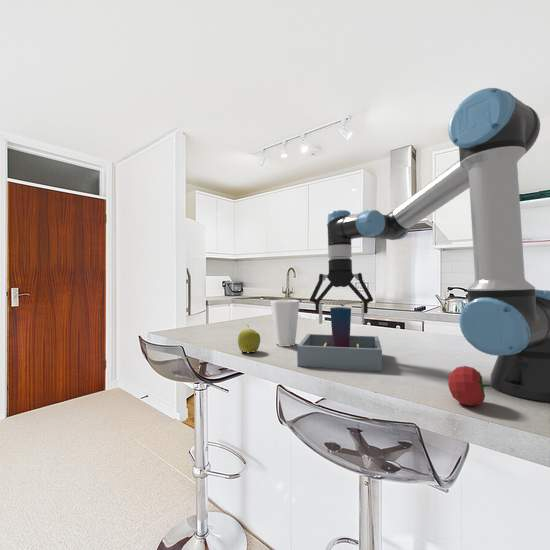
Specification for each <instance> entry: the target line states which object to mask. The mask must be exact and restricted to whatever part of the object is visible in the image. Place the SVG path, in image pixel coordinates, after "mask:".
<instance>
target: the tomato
mask: <svg viewBox="0 0 550 550" xmlns="http://www.w3.org/2000/svg"><path fill="white" fill-rule="evenodd" d="M448 375H449V376H448V380H447V385H448V389H449V392H450V393H451V395H452V398H453V399H455V400H456V401H457V402H459V403H460V404H462V405H463V406H469V407H475V406H479V405H481V404H482V403H483V402H484V401H485V397H486V393H485V388H486V387H492V385H491V384H484V383H483V376H482V374H481V372H480V371H478V370H477V369H475V368H474V367H472V366H468V365H462V366H458V367H456V368H455V369H453V370H452V371H451V372H450V373H449V374H448Z"/></svg>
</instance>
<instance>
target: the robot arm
mask: <svg viewBox="0 0 550 550" xmlns="http://www.w3.org/2000/svg"><path fill="white" fill-rule="evenodd" d="M447 128H448V129H447V131H448V137H449V139H450V141H451V142H452V144H453V145H455V146H456V147H457V148H458V151H459V153H458V154H459V160H457V161H456V162H455V163H453V164H452V165H450V167H448V168H447V169H445V170H444V171H443V172H442V173H440V174H439V175H438V176H436V177H435V178H434V179H432V180H431V181H430V182H429V183H427V184H426V185H425V186H423V187H422V188H421V189H420V190H418V191H417V192H415V193H414V194H413V195H411V197H409V198H408V199H407V200H405V201H404V202H403V203H401V204H400V205H399V206H398V207H396V208H395V209H393V210H392V211H390V212H389V213H387V214H383V213H381V212H380V211H379V210H377V209H372V210H364V211H362V212H358V213H357V212H356V213H353V214H351V212H350V211H349V210H343V209H342V210H333V211H330V212H329V213H328V215H327V224H326V226H327V253H328V254H327V255H328V258H329V260H328V274H324V273H319V274H318V281H317V283H316V285H315V288H314V290H313V292H312V293H311V297H310V298H309V301H310V303H311V302H312V303H314V305H315V313H316V314H318V324H320V325H321V324H322V323H323V304H322V302H321V301H322V300H323V298H324V297H325V296H326V295H328V292H329V291H330V290H331V289H332V288H333V287H335V288H346V287H349V288H350V290H352V291H353V292H354V294H355V295H356V296H357V297H358V298H359V299H360V300H361V301H362V303H360V305H361V307H360V308H361V325H365V314H368V313H369V312H368V311H369V309H368V304H369V303H371V302H373V301H374V298H373V295H372V294H371V293H370V291H369V289H368V287H367V285H366V283H365V282H364V280H363V274H362V272H359V273H353V263H352V262H353V260H352V259H351V258H352V253H353V252H352V240H353V239H361V238H363V239H365V238H368V239H381V240H390V241H395V240H402V239H404V238H405V237H406V236H407V234H408V233H409V231H410V228H412V227H413V226H414V225H416V224H418V223H419V222H421V221H422V220H424V219H425V218H426V217H429V216H430V215H431V214H433V213H434V212H436V211H437V210H438V209H440V208H442V207H443V206H444V205H446V204H447V203H449V202H450V201H452V200H454V199H455V198H456V197H458V196H459V195H461V194H463V193H464V192H465V191H467V190H468V189H469V199H470V201H469V202H470V215H471V216H470V219H471V233H472V235H471V237H472V251H473V252H472V253H473V266H474V281H473V283H472V284H471V285H470V286H469V287H468V288H467V304H466V305H465V306H464V308H462V310H461V312H460V315H459V320H458V322H459V328H460V331H461V333H462V336H463V337H464V339H465V340H466V341H467V342H468V343H469V344H470V345H471V346H473V348H474V349H476V350H478V351H479V352H481V353H483V354H486V355H489V356H497V358H496V360H495V363H494V365H493V368H492V371H491V373H490V385H491V387H493V388H494V389H495V390H498V391H500V392H502V393H504V394H506V395H509V396H510V395H511V396H513V397H517V398H521V399H526V400H532V401H537V402H538V401H539V402H548V403H549V402H550V290H546V289H545V290H543V289H537V288H536V286H534V284H531V283H530V282H528V280H526V278H525V262H524V247H523V245H524V244H523V233H522V216H521V203H520V202H521V201H520V199H521V198H520V186H519V172H518V162H519V161H520V160H521V159H522V157H524V156H525V155H526V154H527V153H528V152H529V151H530V149H532V147H533V146H534V145H535V143H536V142H537V139H538V137H539V134H540V130H541V119H540V117H539V114H538V113H537V112H536V111H535V110H534V109H533V108H532V107H531V106H529V105H527V104H525V103H524V102H522V101H521V100H519V99H518V98H517V97H515V96H514V95H513V94H512V93H511V92H509V91H508V90H504V89H501V88H497V87H488V88H483V89H480V90H477V91H475V92H473V93H471V94H470V95H468V96H467V97H466V98H464V99H463V100H462V101H461V103H459V104H458V106H457V108H456V109H455V110H454V111H453V113H452V115H451V116H450V119H449V123H448V127H447ZM354 278H355V279H356V280H357V281H358V282H359V284H360V287H362V289H363V291H364V293H365V295H366V297H367V298H366V297H364V295H363V294H362V293H361V292H360V290H359V289H357V287H356V286H355V285H354V284H353V283H352V280H353V279H354ZM326 279H327V280H328V281H329V282H330V283H328V285H327V286H326V288H325V289H324V290H323V291H322V292H321V294H320V295H319V296H318V297H317V295H318V294H319V291H320V289H321V287H322V285H323V282H324V281H325V280H326ZM316 297H317V298H316Z"/></svg>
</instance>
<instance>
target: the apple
mask: <svg viewBox="0 0 550 550" xmlns="http://www.w3.org/2000/svg"><path fill="white" fill-rule="evenodd" d="M247 327H248V328H244V329H242V330H241V331H240V332H239V334H238V336H237V346H238V349H239V350H240V352H241V351H244V352H253V351H256V352H257V351H258V350H259V348H260V345H261V336H260V334H259V333H258V332H257V331H256V330H255V329H250V328H249V325H247Z"/></svg>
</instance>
